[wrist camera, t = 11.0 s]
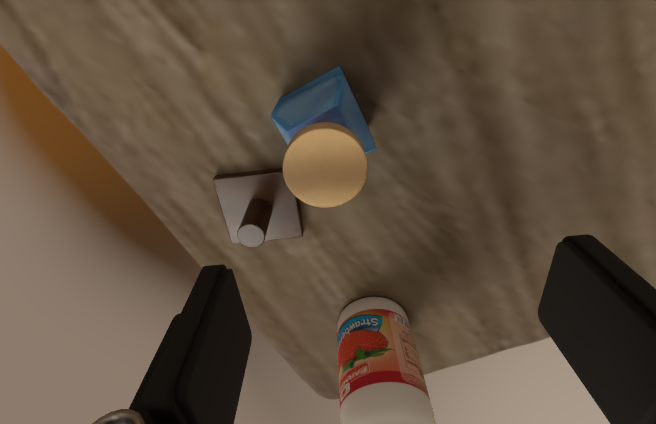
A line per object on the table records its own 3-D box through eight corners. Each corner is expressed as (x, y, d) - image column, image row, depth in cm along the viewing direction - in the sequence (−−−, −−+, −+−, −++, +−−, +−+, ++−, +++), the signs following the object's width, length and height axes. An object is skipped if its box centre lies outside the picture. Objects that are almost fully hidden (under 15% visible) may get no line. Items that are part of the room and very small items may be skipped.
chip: (278, 126, 21) (275, 133, 20) (362, 117, 21) (365, 123, 20) (292, 201, 24) (290, 211, 23) (367, 193, 23) (370, 203, 22)
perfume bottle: (339, 65, 31) (347, 92, 20) (368, 127, 33) (387, 178, 23) (279, 98, 32) (257, 139, 22) (311, 155, 35) (306, 215, 24)
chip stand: (215, 175, 36) (196, 202, 31) (291, 166, 35) (286, 193, 30) (234, 239, 40) (220, 273, 34) (303, 232, 39) (300, 265, 34)
